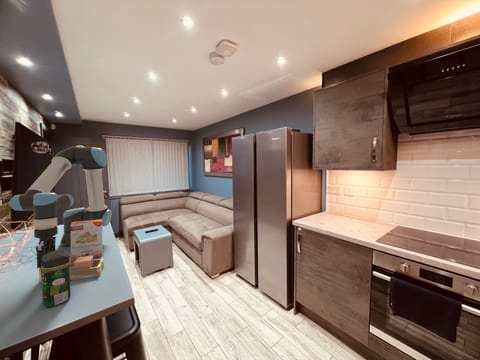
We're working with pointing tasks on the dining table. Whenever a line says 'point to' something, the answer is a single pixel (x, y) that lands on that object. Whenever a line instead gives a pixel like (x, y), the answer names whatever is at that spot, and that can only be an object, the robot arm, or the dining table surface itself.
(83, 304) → the dining table surface
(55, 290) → the coffee jar
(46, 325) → the dining table surface
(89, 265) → the corded block
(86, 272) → the frame
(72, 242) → the cracker box
